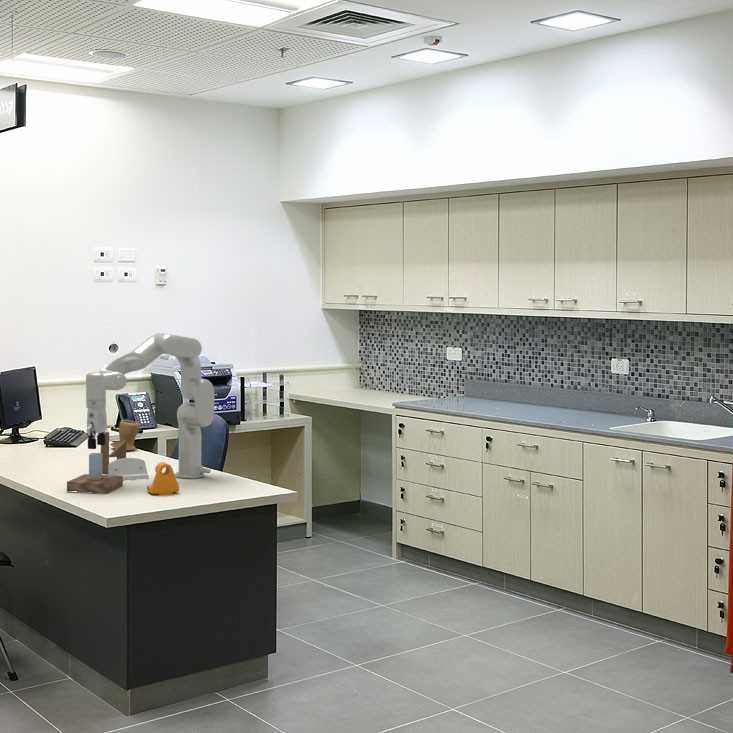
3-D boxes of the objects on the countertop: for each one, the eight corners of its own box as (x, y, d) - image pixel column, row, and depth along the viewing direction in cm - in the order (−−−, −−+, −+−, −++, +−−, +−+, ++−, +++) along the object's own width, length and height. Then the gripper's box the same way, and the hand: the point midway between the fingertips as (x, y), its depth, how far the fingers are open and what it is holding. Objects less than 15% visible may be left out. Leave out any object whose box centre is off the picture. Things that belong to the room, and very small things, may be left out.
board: (122, 485, 410) (122, 475, 410) (106, 493, 393) (106, 483, 392) (84, 483, 412) (84, 474, 412) (66, 492, 394) (66, 481, 394)
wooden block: (126, 473, 439) (126, 431, 438) (100, 474, 435) (100, 432, 434) (124, 471, 442) (125, 430, 441) (99, 472, 438) (99, 431, 437)
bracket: (172, 490, 403) (172, 460, 403) (178, 493, 397) (179, 463, 396) (146, 492, 398) (146, 462, 397) (152, 495, 392) (152, 464, 391)
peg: (102, 488, 404) (102, 453, 403) (98, 489, 400) (99, 454, 399) (92, 487, 405) (92, 452, 404) (88, 489, 401) (88, 454, 400)
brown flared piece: (141, 451, 501) (142, 421, 500) (117, 452, 495) (118, 422, 494) (133, 447, 514) (133, 417, 513) (109, 448, 508) (109, 418, 507)
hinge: (110, 481, 418) (108, 457, 420) (107, 483, 422) (105, 460, 424) (149, 479, 426) (147, 455, 429) (146, 481, 430) (144, 458, 432)
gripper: (97, 406, 391) (97, 450, 393) (113, 401, 408) (113, 443, 410) (78, 406, 392) (79, 450, 393) (95, 401, 409) (95, 443, 411)
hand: (96, 446), depth 402 cm, fingers open, 9 cm apart
